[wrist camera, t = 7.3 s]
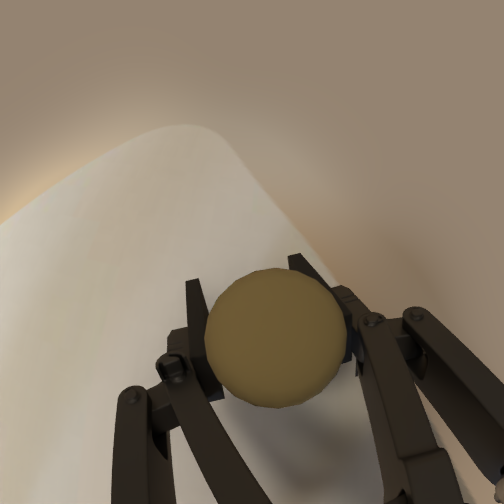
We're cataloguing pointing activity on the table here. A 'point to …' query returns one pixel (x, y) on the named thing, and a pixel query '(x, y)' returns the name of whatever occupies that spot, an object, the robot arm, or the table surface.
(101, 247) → the table surface
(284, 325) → the cork
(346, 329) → the robot arm
